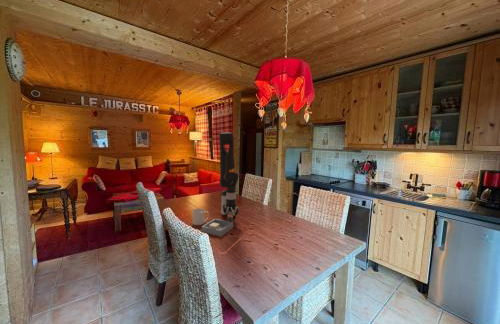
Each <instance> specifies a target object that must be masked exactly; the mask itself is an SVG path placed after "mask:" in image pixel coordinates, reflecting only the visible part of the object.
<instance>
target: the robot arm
mask: <svg viewBox="0 0 500 324" xmlns="http://www.w3.org/2000/svg"><path fill="white" fill-rule="evenodd" d="M218 138H219V139H218V140H219V142H218V143H219V167H220V169H219V171H220V176H219V177H220V178H219V187H220V188H226V189H225V190H223V191H221V212H220V213H221V215H223V216H225V218H226V220H228V218H227V216H228V211H232V213H233V220H234V221H235V220H236V218H237V215H239V212H240V206H237V184H238V180H239V173H238V172H237V171H232V170H234V169H235V167H236V166H235V165H236V164H235V154H234V151H235V148H234V145H235V143H234V141H235V140H234V134H233V132H220V133H219V136H218ZM224 145H229V148H228V151H227V149H226V148H225V146H224ZM233 210H234V211H233Z"/></svg>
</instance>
